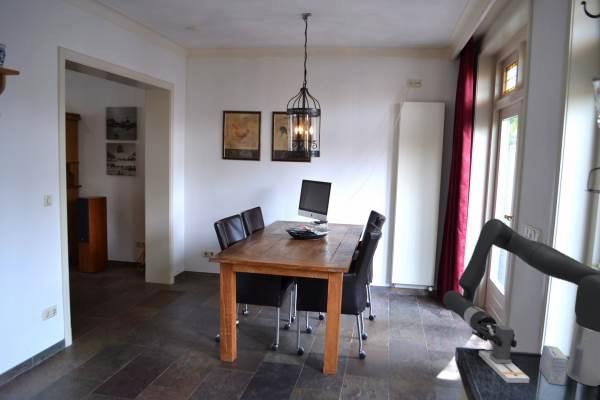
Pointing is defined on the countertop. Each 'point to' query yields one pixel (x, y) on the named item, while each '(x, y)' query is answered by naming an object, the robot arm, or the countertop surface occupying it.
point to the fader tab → (502, 352)
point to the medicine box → (553, 365)
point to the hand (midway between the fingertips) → (508, 344)
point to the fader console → (505, 369)
